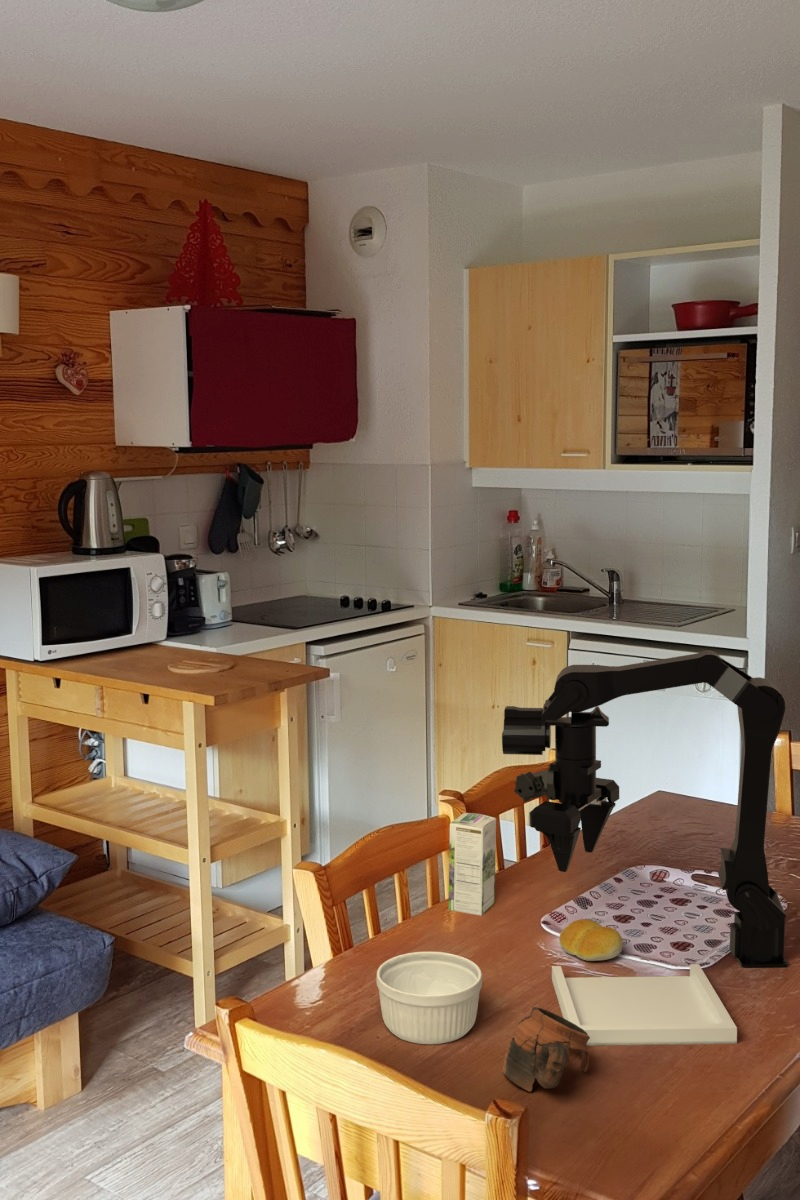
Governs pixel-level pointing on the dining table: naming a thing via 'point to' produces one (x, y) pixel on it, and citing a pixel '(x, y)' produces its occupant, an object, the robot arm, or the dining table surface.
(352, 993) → the dining table surface
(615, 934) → the bread roll
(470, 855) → the syrup box
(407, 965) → the ramekin
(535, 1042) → the pottery mug
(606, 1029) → the tray
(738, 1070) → the dining table surface
